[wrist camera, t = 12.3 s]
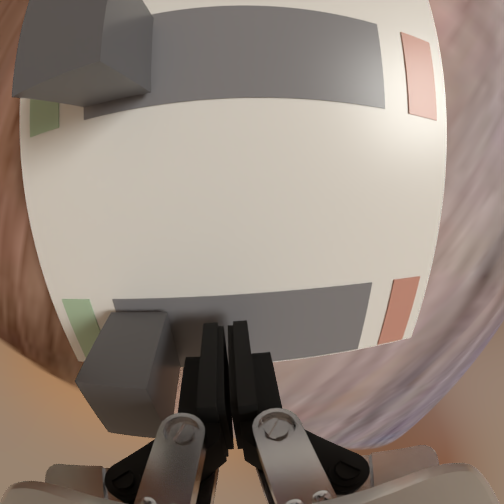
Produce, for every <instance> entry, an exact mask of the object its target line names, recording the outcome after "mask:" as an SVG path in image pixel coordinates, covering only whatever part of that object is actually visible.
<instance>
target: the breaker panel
mask: <svg viewBox="0 0 504 504" xmlns="http://www.w3.org/2000/svg"><path fill="white" fill-rule="evenodd" d="M143 2H144V3H145V5H146V7H147V8H148V10H149V11H150V13H151V15H152V16H153V18H154V20H153V35H152V58H151V93H146V94H141V95H135V96H130V97H125V98H121V99H116V100H112V101H108V102H103V103H99V104H96V105H92V106H88V107H80V106H75V105H69V104H63V103H57V102H50V101H43V100H35V99H27V98H20V151H21V165H22V175H23V183H24V191H25V198H26V204H27V210H28V215H29V220H30V225H31V230H32V234H33V239H34V243H35V247H36V251H37V254H38V258H39V262H40V265H41V268H42V272H43V275H44V278H45V281H46V284H47V287H48V290H49V293H50V296H51V299H52V302H53V304H54V307H55V310H56V312H57V315H58V317H59V320H60V322H61V324H62V327H63V329H64V332H65V334H66V336H67V338H68V340H69V343H70V345H71V347H72V349H73V351H74V353H75V355H76V357H77V359H78V361H81V362H84V361H85V359H86V357H87V355H88V354H89V352H90V350H91V348H92V346H93V344H94V342H95V340H96V338H97V337H98V335H99V333H100V331H101V329H102V327H103V326H104V324H105V322H106V320H107V319H108V317H109V315H110V313H111V312H167V313H168V317H169V321H170V326H171V330H172V334H173V338H174V343H175V347H176V350H177V354H178V358H179V362H180V367H184V362H185V358H186V357H200V353H201V342H202V331H203V323H213V322H218V326H224V333H225V341H226V349H227V357H228V325H233V321H244V320H247V324H248V332H249V340H250V348H251V354H252V353H263V352H270V353H271V358H272V362H279V361H288V360H296V359H304V358H311V357H318V356H324V355H330V354H336V353H342V352H348V351H353V350H358V349H363V348H368V347H373V346H378V345H382V344H386V343H391V342H395V341H399V340H403V339H407V338H411V336H412V333H413V330H414V327H415V324H416V321H417V318H418V315H419V312H420V308H421V305H422V302H423V298H424V295H425V291H426V287H427V283H428V279H429V275H430V271H431V267H432V262H433V258H434V253H435V248H436V243H437V237H438V232H439V225H440V219H441V212H442V204H443V195H444V185H445V172H446V150H447V120H446V99H445V86H444V77H443V68H442V61H441V54H440V48H439V43H438V38H437V33H436V28H435V24H434V19H433V15H432V11H431V8H430V4H429V1H428V0H143ZM228 364H229V360H228Z"/></svg>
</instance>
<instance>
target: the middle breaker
mask: <svg viewBox="0 0 504 504" xmlns="http://www.w3.org/2000/svg"><path fill="white" fill-rule="evenodd" d="M153 20H154V18H153V16H152V15H151V13H150V11H149V10H148V8H147V7H146V5H145V3H144V2H143V0H29V3H28V7H27V10H26V14H25V17H24V21H23V25H22V29H21V34H20V39H19V44H18V49H17V55H16V61H15V69H14V77H13V88H12V97H17V98H27V99H35V100H43V101H50V102H57V103H63V104H69V105H75V106H80V107H88V106H92V105H96V104H99V103H103V102H108V101H112V100H116V99H121V98H125V97H130V96H135V95H141V94H146V93H151V58H152V35H153Z"/></svg>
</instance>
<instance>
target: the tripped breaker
mask: <svg viewBox="0 0 504 504" xmlns="http://www.w3.org/2000/svg"><path fill="white" fill-rule="evenodd" d="M179 372H180V362H179V358H178V354H177V350H176V347H175V343H174V338H173V334H172V330H171V326H170V321H169V317H168V313H167V312H111V313H110V315H109V317H108V319H107V320H106V322H105V324H104V326H103V327H102V329H101V331H100V333H99V335H98V337H97V338H96V340H95V342H94V344H93V346H92V348H91V350H90V352H89V354H88V355H87V357H86V359H85V361H84V363H83V365H82V367H81V369H80V371H79V373H78V375H77V378H76V380H75V382H76V384H77V386H78V387H79V389H80V391H81V392H82V394H83V395H84V397H85V398H86V400H87V402H88V403H89V405H90V406H91V408H92V409H93V411H94V412H95V414H96V415H97V417H98V418H99V419H100V421H101V422H102V424H103V425H104V426H105V428H106V429H107V430H108V432H111V433H117V434H124V435H131V436H140V437H149V438H155V437H156V434H157V432H158V429H159V426H160V424H161V423H162V421H163V420H164V419H165V418H167V417H169V416H170V415H172V414H174V407H175V400H176V393H177V385H178V379H179Z"/></svg>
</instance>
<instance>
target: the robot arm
mask: <svg viewBox="0 0 504 504" xmlns="http://www.w3.org/2000/svg"><path fill="white" fill-rule="evenodd" d="M228 360H229V364H228ZM232 419H233V424H234V430H235V435H236V441H237V446H238V449H243V451H244V457H245V461H247V462H249V463H250V464H251V465H253V466H255V467H256V471H257V474H258V477H259V480H260V483H261V486H262V489H263V492H264V495H265V498H266V501H267V504H500V503H499V501H498V499H497V497H496V495H495V493H494V491H493V489H492V488H491V486H490V484H489V483H488V481H487V480H486V479H485V477H484V476H483V475H482V474H481V472H480V471H479V470H477V469H476V468H475V467H473V466H472V465H469V464H465V463H451V464H443V465H439V462H438V457H437V454H436V452H435V450H433V449H432V448H431V447H429V446H426V445H419V446H414V447H409V448H404V449H397V450H391V451H384V452H376V453H371V454H370V455H365V456H361V455H359V454H357V453H354V452H352V451H350V450H347V449H345V448H343V447H340V446H338V445H336V444H334V443H332V442H329V441H327V440H325V439H323V438H321V437H319V436H317V435H315V434H313V433H311V432H309V431H307V430H305V429H304V428H303V426H302V423H301V421H300V419H299V418H298V417H297V415H296V414H294V413H293V412H291V411H289V410H286V409H282V405H281V400H280V396H279V391H278V386H277V381H276V377H275V372H274V367H273V362H272V358H271V353H270V352H263V353H252V354H251V348H250V340H249V332H248V324H247V320H244V321H233V325H228V357H227V349H226V341H225V333H224V326H218V322H213V323H203V331H202V342H201V353H200V357H186V358H185V362H184V369H183V377H182V384H181V392H180V400H179V408H178V413H177V414H172V415H170V416H169V417H167V418H165V419H164V420H163V421H162V423H161V424H160V426H159V429H158V432H157V434H156V437H155V439H154V440H153V441H151V442H150V443H149V444H147V445H145V446H144V447H142V448H141V449H139V450H138V451H136V452H134V453H133V454H131V455H129V456H128V457H126V458H125V459H123V460H121V461H120V462H118V463H116V464H115V465H113V466H112V467H111V468H103V467H102V466H80V465H64V464H56V465H53V466H51V467H50V468H49V469H48V470H47V473H46V477H45V483H44V482H37V481H23V482H18V483H15V484H13V485H11V486H10V487H9V488H8V489H7V490H6V492H5V493H4V495H3V497H2V500H1V502H0V504H214V498H215V492H216V485H217V479H218V472H219V467H220V466H221V465H222V464H224V463H225V462H226V461H227V460H226V457H228V449H234V444H233V427H232Z"/></svg>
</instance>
